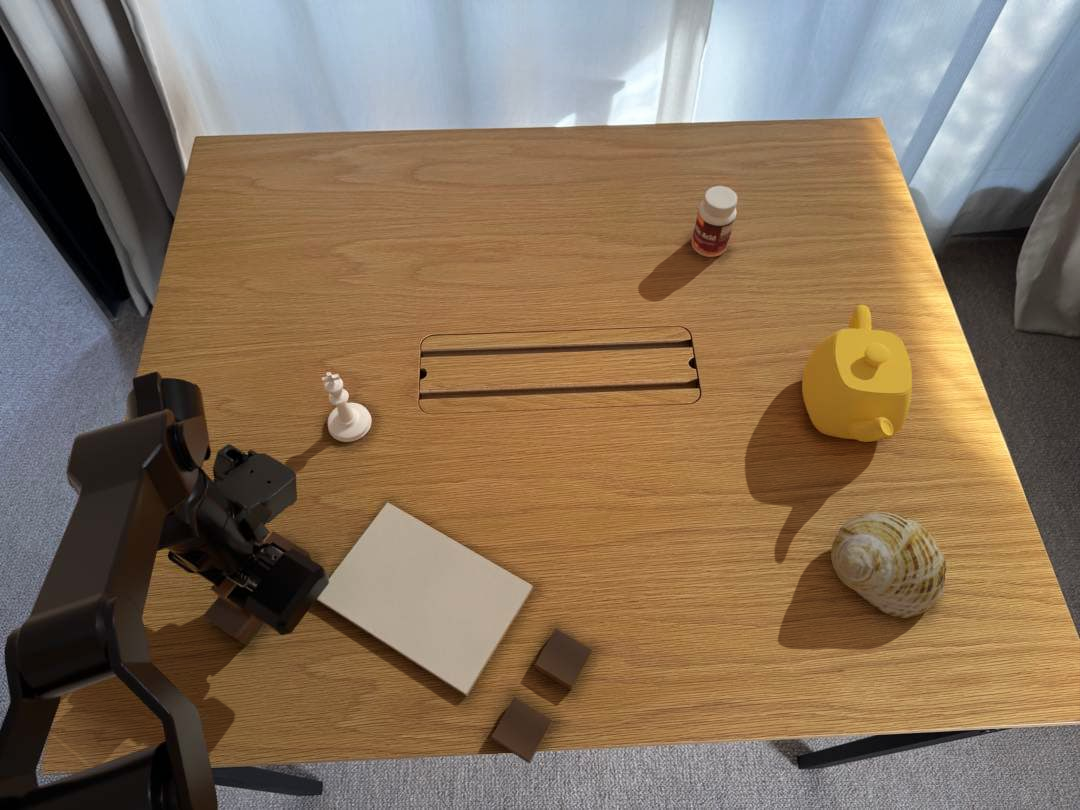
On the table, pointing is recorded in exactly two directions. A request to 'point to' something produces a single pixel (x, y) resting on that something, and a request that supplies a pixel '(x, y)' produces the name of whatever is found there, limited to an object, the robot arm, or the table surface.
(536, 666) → the chip
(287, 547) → the brown stepped block
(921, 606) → the seashell
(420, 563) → the tile
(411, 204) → the table surface
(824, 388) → the teapot
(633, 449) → the table surface
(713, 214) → the pill bottle
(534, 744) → the chip
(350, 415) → the chess piece
